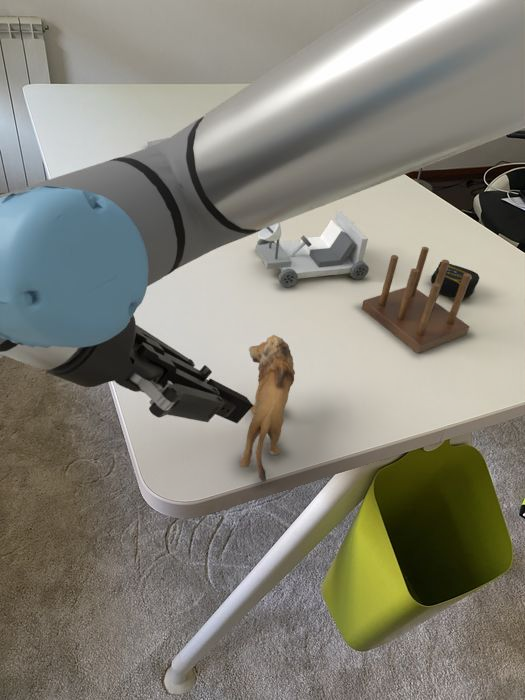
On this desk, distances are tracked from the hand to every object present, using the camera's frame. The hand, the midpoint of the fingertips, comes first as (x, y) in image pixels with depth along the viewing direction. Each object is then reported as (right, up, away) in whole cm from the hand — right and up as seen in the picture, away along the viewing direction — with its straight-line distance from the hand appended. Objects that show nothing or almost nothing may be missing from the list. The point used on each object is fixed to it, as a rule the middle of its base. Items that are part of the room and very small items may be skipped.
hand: (241, 410), depth 60 cm
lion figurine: (+2, -2, +2) cm, 4 cm away
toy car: (+9, +20, +32) cm, 39 cm away
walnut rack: (+25, +11, +22) cm, 35 cm away
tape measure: (+33, +16, +30) cm, 47 cm away
